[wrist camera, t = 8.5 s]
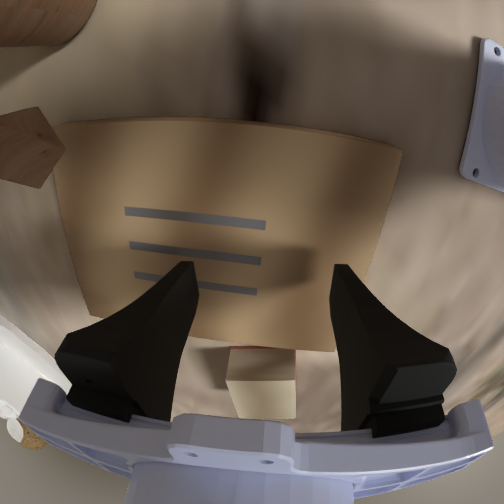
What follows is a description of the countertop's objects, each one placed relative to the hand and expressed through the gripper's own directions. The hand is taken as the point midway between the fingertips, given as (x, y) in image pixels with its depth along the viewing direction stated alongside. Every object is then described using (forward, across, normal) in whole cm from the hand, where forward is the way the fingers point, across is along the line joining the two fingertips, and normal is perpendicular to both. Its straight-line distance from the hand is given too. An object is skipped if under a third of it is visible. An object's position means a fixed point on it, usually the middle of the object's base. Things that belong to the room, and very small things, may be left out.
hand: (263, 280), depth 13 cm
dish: (+3, +34, +21) cm, 40 cm away
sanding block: (+3, 0, +11) cm, 11 cm away
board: (+3, +3, 0) cm, 4 cm away
